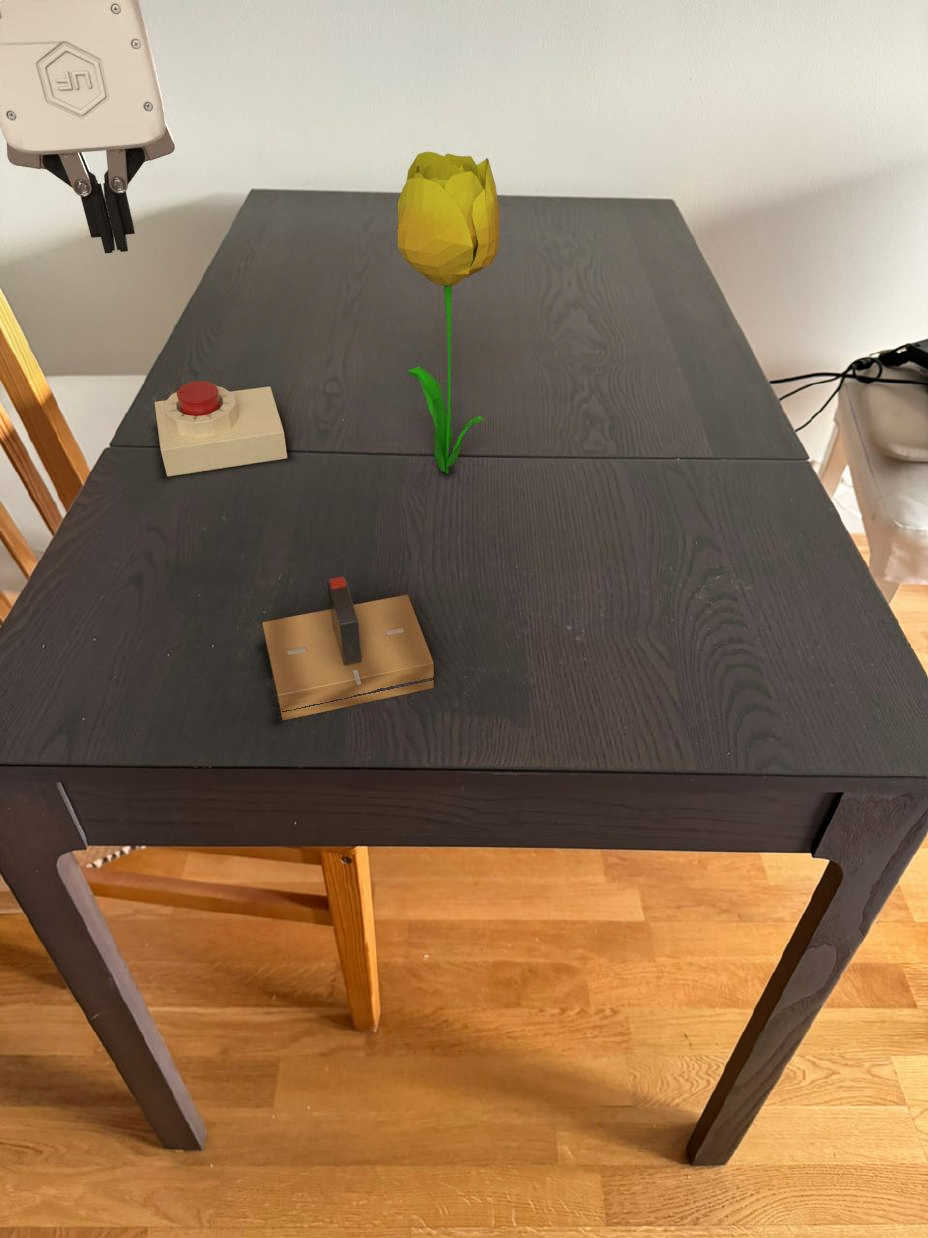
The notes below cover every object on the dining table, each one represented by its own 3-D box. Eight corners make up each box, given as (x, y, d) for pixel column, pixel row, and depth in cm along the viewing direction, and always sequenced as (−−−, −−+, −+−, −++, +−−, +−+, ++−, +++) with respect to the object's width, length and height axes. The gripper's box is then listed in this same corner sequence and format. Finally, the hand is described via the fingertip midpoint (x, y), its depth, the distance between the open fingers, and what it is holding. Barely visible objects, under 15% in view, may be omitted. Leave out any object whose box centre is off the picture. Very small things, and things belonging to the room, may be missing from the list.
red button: (181, 420, 91) (178, 404, 90) (178, 399, 94) (175, 383, 93) (223, 414, 92) (220, 398, 91) (218, 393, 95) (215, 378, 94)
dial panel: (283, 727, 70) (278, 700, 68) (265, 642, 77) (260, 615, 74) (436, 694, 73) (436, 667, 71) (406, 615, 79) (405, 587, 77)
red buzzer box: (167, 476, 92) (156, 434, 89) (160, 427, 98) (150, 386, 95) (287, 458, 95) (281, 416, 91) (273, 412, 101) (268, 370, 98)
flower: (491, 452, 97) (507, 144, 75) (484, 499, 91) (499, 180, 70) (409, 445, 97) (402, 137, 76) (397, 492, 91) (385, 173, 70)
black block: (361, 662, 71) (358, 618, 68) (343, 666, 71) (339, 622, 67) (348, 618, 74) (344, 574, 71) (331, 621, 74) (326, 577, 71)
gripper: (-108, -52, 50) (3, 278, 63) (176, -59, 53) (226, 255, 66) (-93, -76, 55) (7, 234, 68) (166, -82, 58) (215, 215, 71)
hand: (115, 244), depth 67 cm, fingers closed
